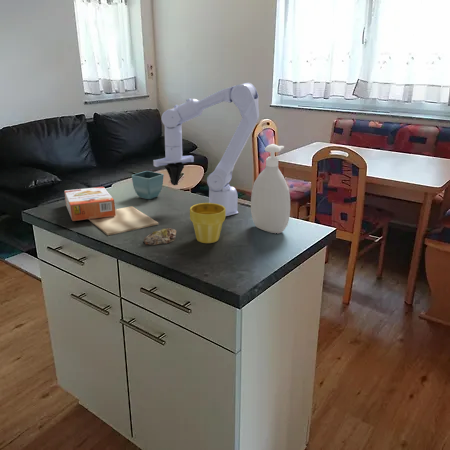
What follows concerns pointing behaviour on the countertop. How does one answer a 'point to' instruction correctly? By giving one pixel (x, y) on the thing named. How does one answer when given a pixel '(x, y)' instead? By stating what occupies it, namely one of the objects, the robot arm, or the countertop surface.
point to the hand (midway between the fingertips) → (174, 184)
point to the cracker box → (89, 203)
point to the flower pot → (147, 184)
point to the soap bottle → (271, 196)
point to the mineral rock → (160, 237)
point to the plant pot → (207, 221)
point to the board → (123, 221)
